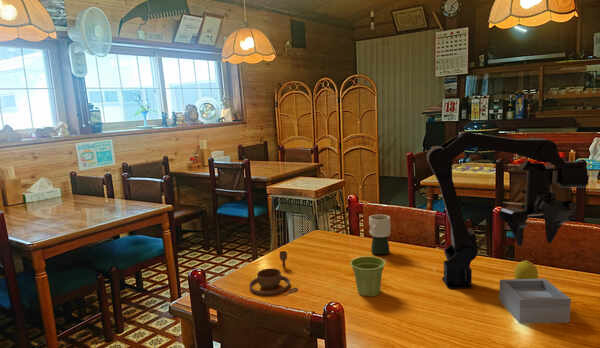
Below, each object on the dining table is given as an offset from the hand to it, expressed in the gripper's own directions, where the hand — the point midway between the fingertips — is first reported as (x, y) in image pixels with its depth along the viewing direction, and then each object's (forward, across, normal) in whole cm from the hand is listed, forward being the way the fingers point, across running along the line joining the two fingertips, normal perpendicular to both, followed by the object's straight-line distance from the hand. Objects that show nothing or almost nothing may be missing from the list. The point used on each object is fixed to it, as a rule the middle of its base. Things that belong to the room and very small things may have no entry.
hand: (534, 244), depth 109 cm
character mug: (+14, -28, +38) cm, 49 cm away
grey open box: (+12, -9, -11) cm, 19 cm away
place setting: (+15, -65, +26) cm, 72 cm away
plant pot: (+14, -43, +11) cm, 46 cm away
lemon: (+12, -2, -1) cm, 13 cm away
